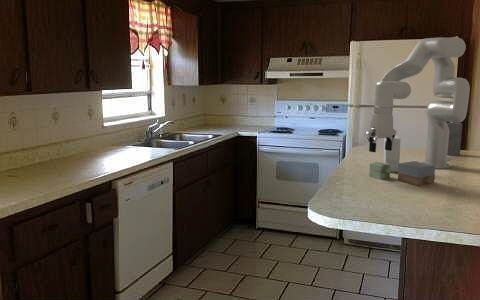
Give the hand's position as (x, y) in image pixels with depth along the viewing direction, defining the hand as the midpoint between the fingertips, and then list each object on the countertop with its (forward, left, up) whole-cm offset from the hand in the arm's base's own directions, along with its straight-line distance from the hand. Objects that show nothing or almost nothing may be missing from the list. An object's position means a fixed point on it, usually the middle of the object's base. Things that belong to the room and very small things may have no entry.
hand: (380, 151), depth 193 cm
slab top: (-6, +14, -8) cm, 17 cm away
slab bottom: (-6, +14, -12) cm, 20 cm away
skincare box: (-15, -7, -12) cm, 21 cm away
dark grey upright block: (-74, -20, -12) cm, 78 cm away
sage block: (0, 0, -12) cm, 12 cm away
